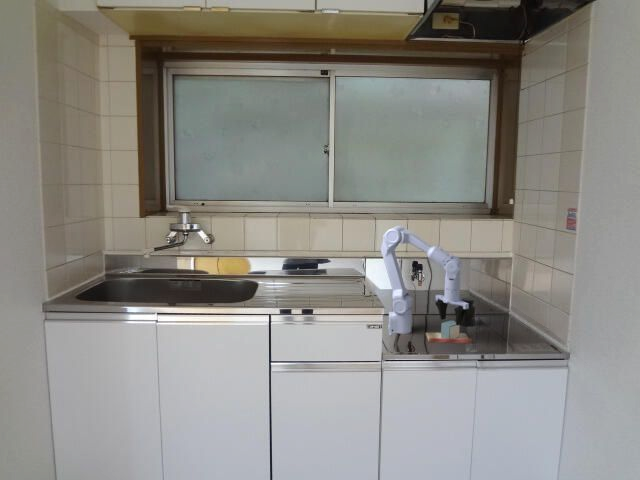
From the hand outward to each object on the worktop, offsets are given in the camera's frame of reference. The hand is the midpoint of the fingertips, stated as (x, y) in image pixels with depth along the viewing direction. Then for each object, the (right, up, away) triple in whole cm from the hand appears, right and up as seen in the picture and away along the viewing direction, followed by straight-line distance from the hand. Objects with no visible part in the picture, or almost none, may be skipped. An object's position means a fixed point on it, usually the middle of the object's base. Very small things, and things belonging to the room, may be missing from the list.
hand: (450, 321), depth 176 cm
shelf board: (-1, -7, +1) cm, 8 cm away
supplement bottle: (+11, -5, +16) cm, 20 cm away
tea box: (0, -6, +1) cm, 6 cm away
